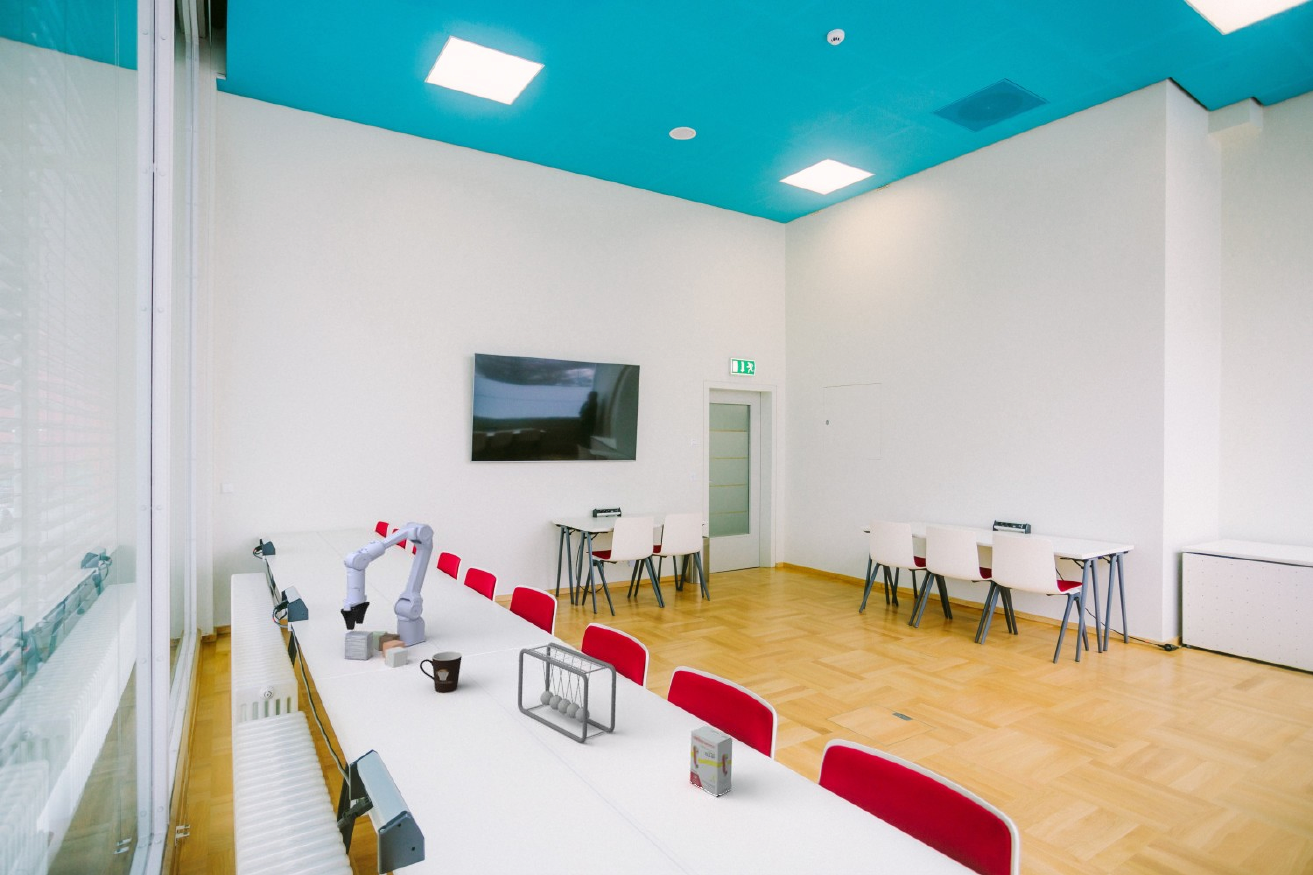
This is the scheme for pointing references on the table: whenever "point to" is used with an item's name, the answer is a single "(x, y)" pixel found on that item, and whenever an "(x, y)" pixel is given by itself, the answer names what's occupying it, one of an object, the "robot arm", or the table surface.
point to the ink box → (711, 760)
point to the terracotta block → (392, 645)
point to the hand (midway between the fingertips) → (355, 626)
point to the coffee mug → (445, 671)
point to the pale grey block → (396, 657)
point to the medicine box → (358, 645)
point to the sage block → (377, 638)
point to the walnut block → (387, 639)
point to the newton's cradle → (564, 704)
